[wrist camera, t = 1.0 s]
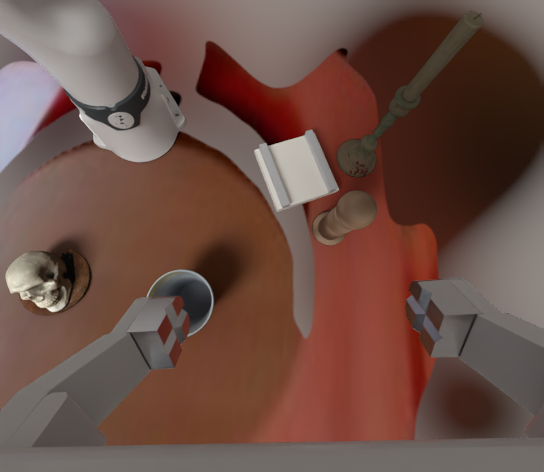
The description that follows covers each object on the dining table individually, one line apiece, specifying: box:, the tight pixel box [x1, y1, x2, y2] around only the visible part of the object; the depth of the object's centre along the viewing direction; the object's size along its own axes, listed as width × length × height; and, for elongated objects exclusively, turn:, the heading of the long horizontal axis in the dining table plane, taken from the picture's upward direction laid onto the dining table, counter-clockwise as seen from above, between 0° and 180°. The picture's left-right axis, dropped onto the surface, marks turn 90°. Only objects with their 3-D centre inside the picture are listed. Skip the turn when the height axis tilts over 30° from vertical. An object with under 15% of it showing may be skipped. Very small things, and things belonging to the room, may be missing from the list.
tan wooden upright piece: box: [312, 190, 377, 246], centre depth 42 cm, size 7×7×16 cm
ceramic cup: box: [147, 269, 215, 337], centre depth 40 cm, size 13×10×10 cm
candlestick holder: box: [337, 11, 483, 177], centre depth 39 cm, size 9×9×30 cm
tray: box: [255, 130, 339, 212], centre depth 51 cm, size 14×14×3 cm
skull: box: [6, 249, 89, 316], centre depth 42 cm, size 12×10×10 cm
